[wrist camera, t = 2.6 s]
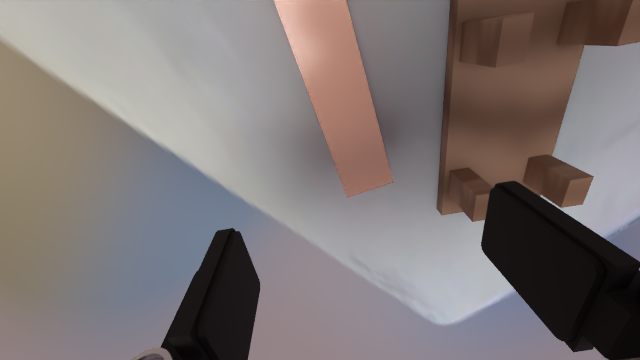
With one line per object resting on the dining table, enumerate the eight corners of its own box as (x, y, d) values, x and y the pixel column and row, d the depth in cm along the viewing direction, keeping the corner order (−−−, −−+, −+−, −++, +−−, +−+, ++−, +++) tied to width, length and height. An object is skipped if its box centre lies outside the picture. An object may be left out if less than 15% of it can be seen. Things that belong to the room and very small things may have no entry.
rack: (451, -18, 17) (502, -37, 12) (595, -46, 16) (700, -75, 12) (437, 208, 25) (464, 244, 21) (531, 193, 25) (578, 227, 21)
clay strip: (259, -51, 16) (243, -80, 12) (313, -77, 15) (316, -116, 11) (340, 169, 23) (347, 197, 19) (378, 157, 23) (393, 182, 19)
